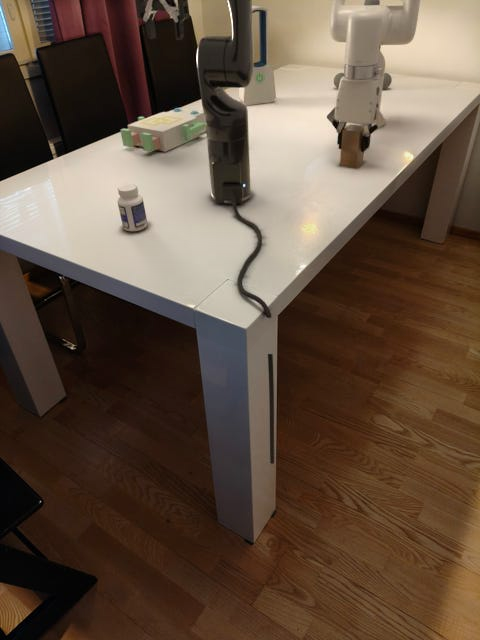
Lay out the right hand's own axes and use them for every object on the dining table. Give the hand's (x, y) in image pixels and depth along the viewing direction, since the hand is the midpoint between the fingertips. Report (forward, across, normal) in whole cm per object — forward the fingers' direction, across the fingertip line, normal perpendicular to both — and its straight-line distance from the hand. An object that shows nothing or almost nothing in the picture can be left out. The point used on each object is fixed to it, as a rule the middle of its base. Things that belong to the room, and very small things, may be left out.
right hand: (352, 148), depth 126 cm
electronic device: (+4, +54, -46) cm, 71 cm away
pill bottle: (+4, +29, +53) cm, 61 cm away
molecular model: (+4, +27, -81) cm, 86 cm away
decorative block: (+4, +59, +3) cm, 59 cm away
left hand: (-25, +47, +13) cm, 55 cm away
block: (+4, 0, 0) cm, 4 cm away
